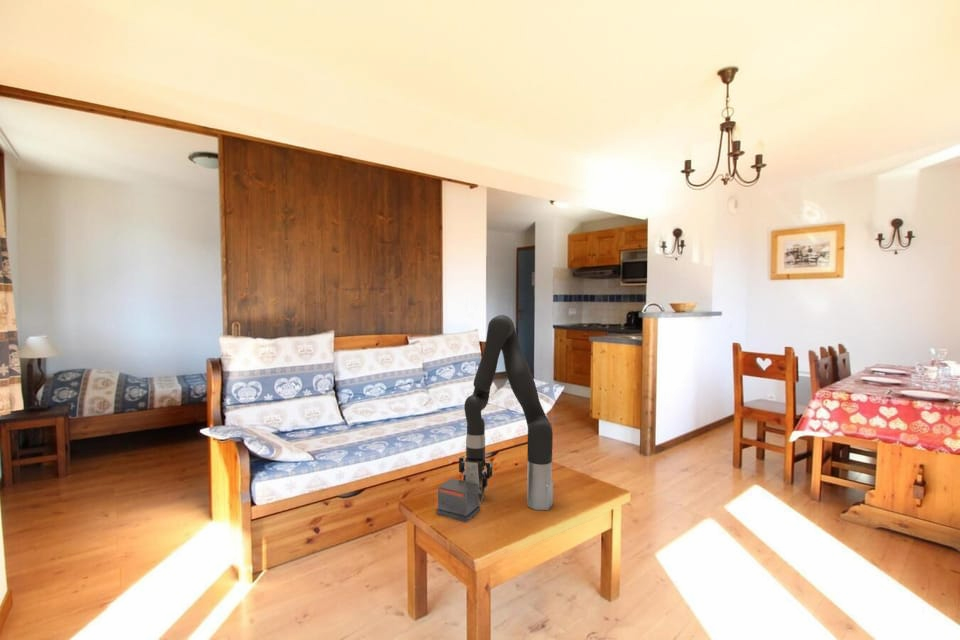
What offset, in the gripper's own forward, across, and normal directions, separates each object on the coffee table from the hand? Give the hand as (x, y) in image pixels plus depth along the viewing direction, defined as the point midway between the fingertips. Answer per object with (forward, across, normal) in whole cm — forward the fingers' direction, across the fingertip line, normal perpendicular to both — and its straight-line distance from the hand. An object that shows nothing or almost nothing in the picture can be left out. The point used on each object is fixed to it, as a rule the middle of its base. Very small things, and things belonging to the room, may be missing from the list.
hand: (475, 485), depth 177 cm
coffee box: (+6, 0, 0) cm, 6 cm away
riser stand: (+5, 0, +13) cm, 14 cm away
